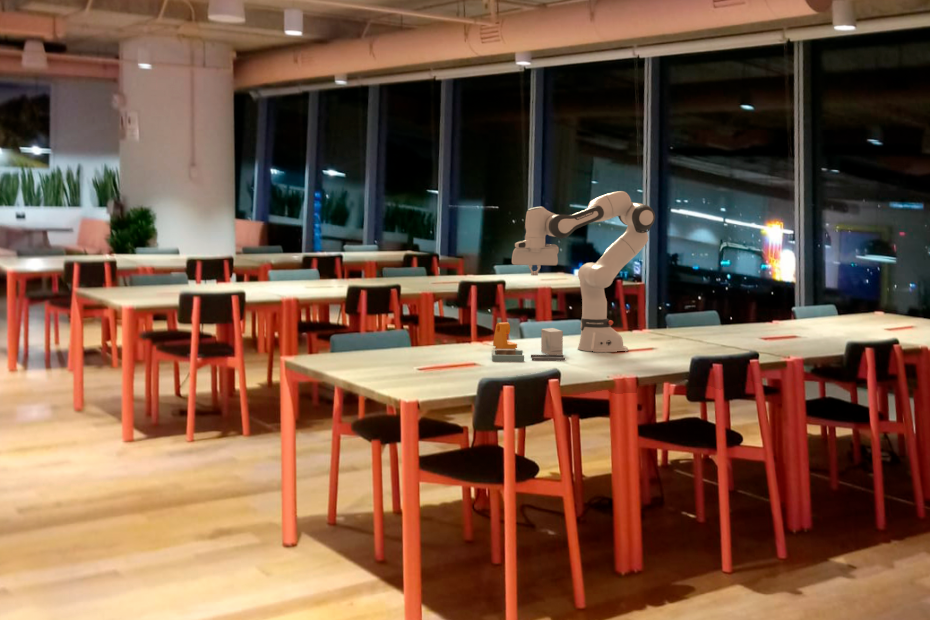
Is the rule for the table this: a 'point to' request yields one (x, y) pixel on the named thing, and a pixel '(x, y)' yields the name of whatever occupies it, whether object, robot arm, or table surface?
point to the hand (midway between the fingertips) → (534, 275)
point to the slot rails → (548, 357)
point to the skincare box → (552, 341)
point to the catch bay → (508, 356)
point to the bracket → (503, 337)
